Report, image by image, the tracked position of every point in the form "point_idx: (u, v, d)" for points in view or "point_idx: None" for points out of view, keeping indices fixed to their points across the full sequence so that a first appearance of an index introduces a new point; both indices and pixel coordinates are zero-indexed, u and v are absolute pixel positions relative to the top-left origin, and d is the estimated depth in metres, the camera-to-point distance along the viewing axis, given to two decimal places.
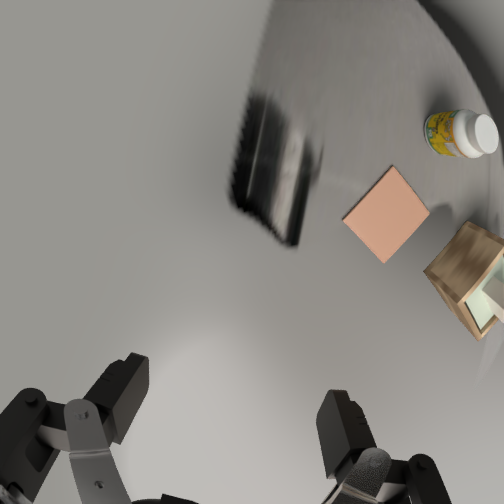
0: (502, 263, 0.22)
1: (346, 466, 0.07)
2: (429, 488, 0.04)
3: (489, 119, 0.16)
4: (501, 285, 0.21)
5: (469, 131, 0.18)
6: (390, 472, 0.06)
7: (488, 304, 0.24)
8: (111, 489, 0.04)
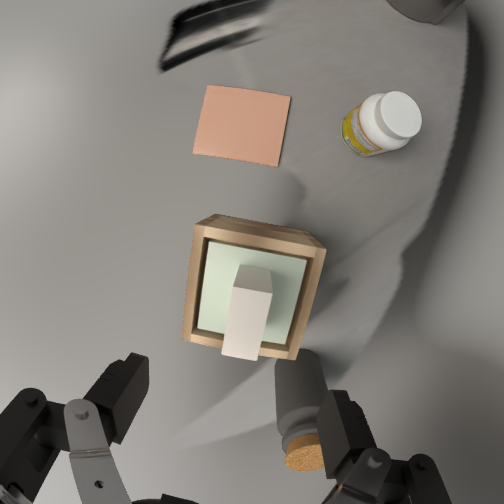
0: (296, 274, 0.21)
1: (346, 466, 0.07)
2: (429, 488, 0.04)
3: (417, 112, 0.17)
4: (266, 277, 0.19)
5: (382, 96, 0.18)
6: (390, 472, 0.06)
7: None
8: (111, 489, 0.04)
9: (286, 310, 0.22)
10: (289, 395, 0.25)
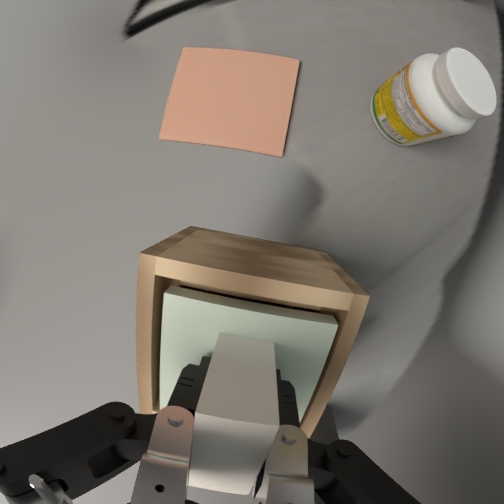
0: (318, 348, 0.11)
1: None
2: (363, 474, 0.06)
3: (490, 82, 0.08)
4: (266, 369, 0.09)
5: None
6: (308, 454, 0.07)
7: None
8: (169, 496, 0.04)
9: (298, 398, 0.12)
10: None
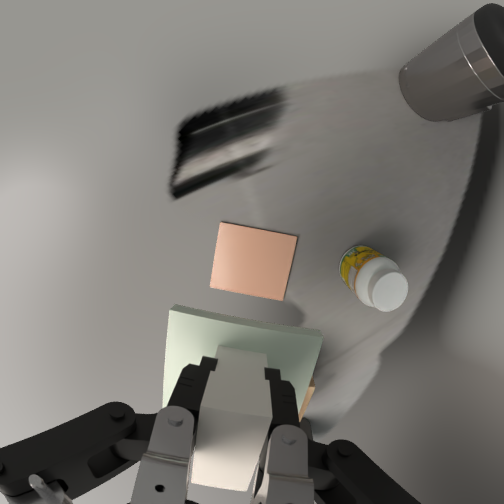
0: (306, 359, 0.13)
1: (265, 441, 0.08)
2: (363, 474, 0.06)
3: (405, 287, 0.23)
4: (260, 374, 0.11)
5: (377, 273, 0.24)
6: (308, 454, 0.07)
7: None
8: (169, 496, 0.04)
9: None
10: None
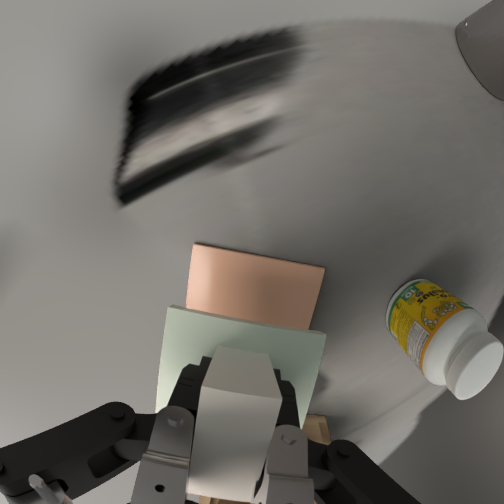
0: (310, 359, 0.12)
1: None
2: (363, 474, 0.06)
3: (499, 360, 0.10)
4: (264, 367, 0.10)
5: (468, 344, 0.10)
6: (308, 454, 0.07)
7: None
8: (169, 496, 0.04)
9: None
10: None
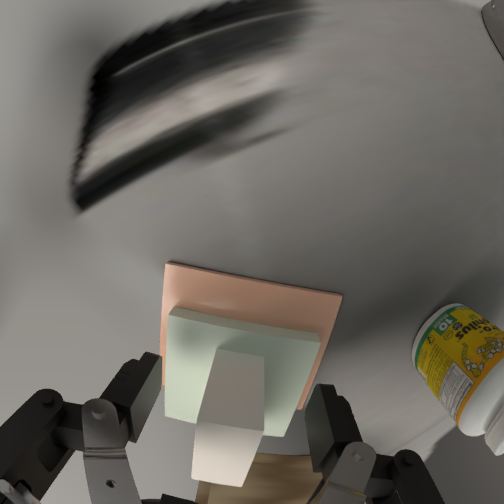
0: (303, 362, 0.13)
1: (331, 460, 0.07)
2: (417, 484, 0.05)
3: None
4: (256, 381, 0.11)
5: None
6: (375, 467, 0.06)
7: None
8: (122, 489, 0.04)
9: (286, 403, 0.14)
10: None
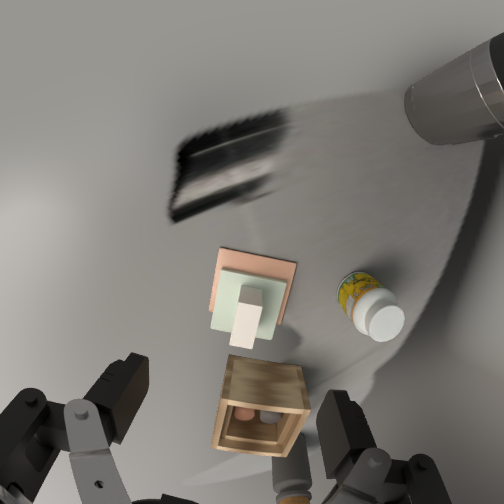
0: (279, 292, 0.31)
1: (346, 466, 0.07)
2: (429, 488, 0.04)
3: (402, 319, 0.23)
4: (258, 295, 0.29)
5: (375, 306, 0.24)
6: (390, 472, 0.06)
7: (235, 310, 0.32)
8: (111, 489, 0.04)
9: (272, 316, 0.32)
10: (281, 469, 0.30)
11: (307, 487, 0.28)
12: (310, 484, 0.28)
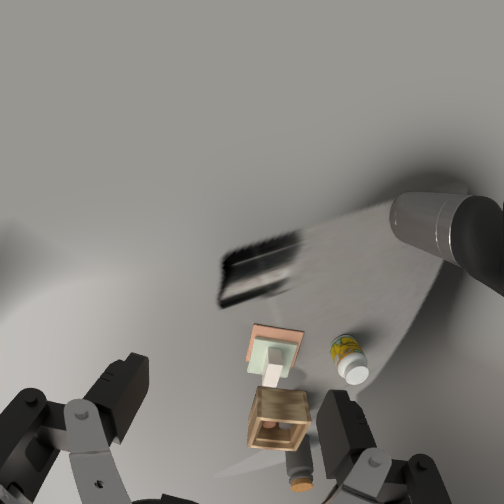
0: (292, 351, 0.46)
1: (346, 466, 0.07)
2: (429, 488, 0.04)
3: (367, 372, 0.38)
4: (280, 355, 0.44)
5: (350, 365, 0.39)
6: (390, 472, 0.06)
7: (264, 361, 0.47)
8: (111, 489, 0.04)
9: (287, 364, 0.47)
10: (292, 459, 0.46)
11: (310, 472, 0.43)
12: (312, 470, 0.43)
